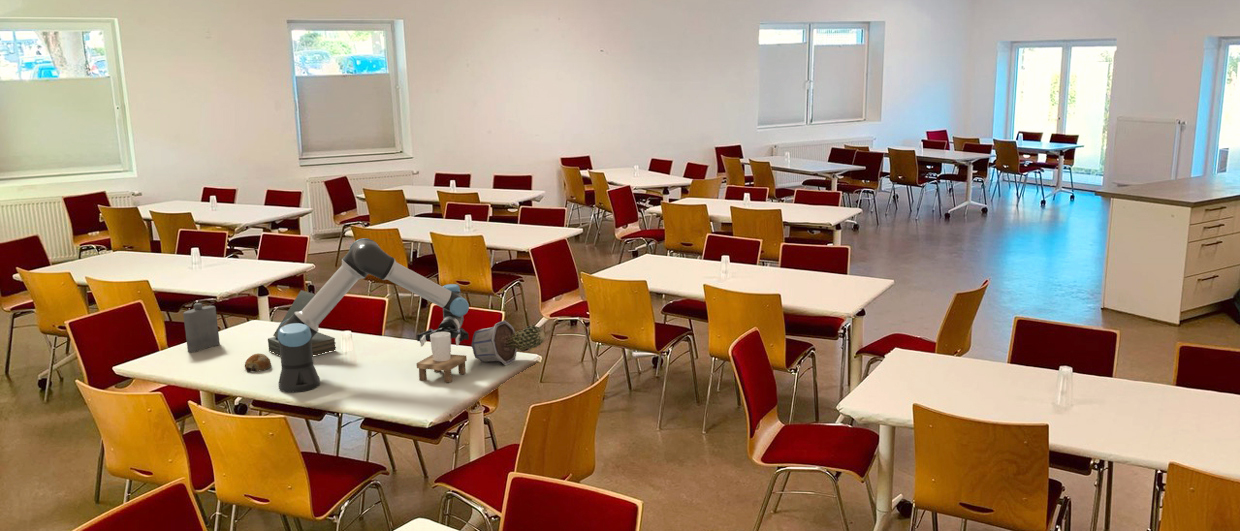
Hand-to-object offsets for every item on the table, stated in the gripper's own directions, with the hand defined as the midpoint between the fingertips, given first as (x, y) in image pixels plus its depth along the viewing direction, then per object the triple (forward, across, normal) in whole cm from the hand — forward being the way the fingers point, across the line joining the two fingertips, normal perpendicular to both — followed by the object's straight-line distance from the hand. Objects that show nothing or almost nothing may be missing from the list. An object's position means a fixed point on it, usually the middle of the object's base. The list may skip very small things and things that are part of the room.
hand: (439, 342), depth 370 cm
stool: (-3, 0, -15) cm, 15 cm away
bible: (-44, +68, -15) cm, 82 cm away
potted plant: (-18, -25, -15) cm, 34 cm away
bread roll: (-21, +79, -15) cm, 83 cm away
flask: (-54, +116, -15) cm, 128 cm away
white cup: (-3, 0, -8) cm, 8 cm away
